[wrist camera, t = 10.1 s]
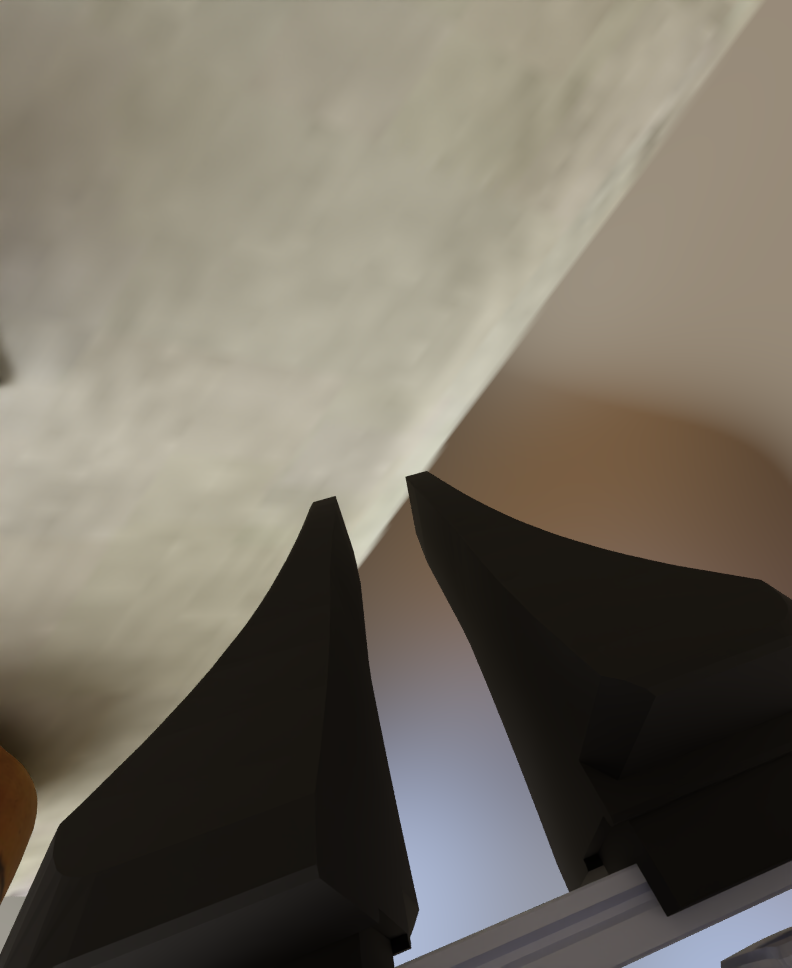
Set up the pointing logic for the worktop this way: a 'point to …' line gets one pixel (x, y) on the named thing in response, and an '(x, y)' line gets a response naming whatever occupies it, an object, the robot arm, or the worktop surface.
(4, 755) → the brown clay vase
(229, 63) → the worktop surface
